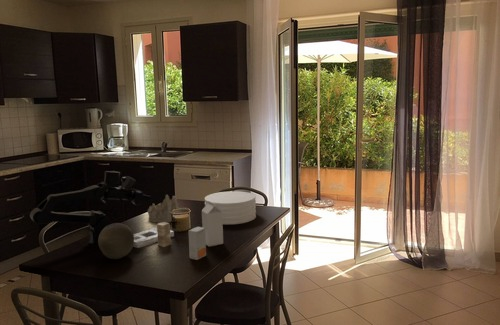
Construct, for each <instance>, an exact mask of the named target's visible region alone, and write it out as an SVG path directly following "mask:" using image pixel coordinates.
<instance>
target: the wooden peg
mask: <svg viewBox="0 0 500 325" xmlns="http://www.w3.org/2000/svg"><path fill="white" fill-rule="evenodd" d="M170 224H171V222H162V223H160V222H157V224H156V227H157V233H158V242H157V246H159V247H162V248H165V247H166V248H167V247H169V246H170V245H172V240H171V239H172V237H171V238H170V230H171V225H170Z"/></svg>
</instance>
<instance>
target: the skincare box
mask: <svg viewBox="0 0 500 325" xmlns="http://www.w3.org/2000/svg"><path fill="white" fill-rule="evenodd" d="M188 247H189V248H188V249H189V250H188V253H189V259H190V260H195V261H198V260H200V259H202V258H204V257H206V256H207V245H206V239H205V228H202V226H195V227H193V228H192V229H189V230H188Z"/></svg>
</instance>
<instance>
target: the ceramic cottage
mask: <svg viewBox="0 0 500 325" xmlns="http://www.w3.org/2000/svg"><path fill="white" fill-rule="evenodd" d="M179 207H180V206H179V204H178V200H177V197H176V196H175V195H172V198H170V196H169V195H168V194H165V198H164V199H163V200H162V202H160V203H158V204H156V205H155V203H152V205H150V206H149V208H148V209H147V213H148V219H147V220H148V221H149V222H153V223H162V222H167V223H171V214H170V212H171V211H172V210H173V209H178V208H179Z"/></svg>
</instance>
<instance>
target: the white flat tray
mask: <svg viewBox="0 0 500 325" xmlns="http://www.w3.org/2000/svg"><path fill="white" fill-rule="evenodd" d="M133 235H134V244H133V247H134V248H137V249H140V248H144V247H146V246H149V245H152V244H153V245H154V244H155V243H158V233H157V226H156V227H153V228H150V229H147V230H143V231H140V232H137V233H133ZM173 237H175V230H171V229H170V238H171V239H172V238H173ZM133 247H132V248H133Z"/></svg>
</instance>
